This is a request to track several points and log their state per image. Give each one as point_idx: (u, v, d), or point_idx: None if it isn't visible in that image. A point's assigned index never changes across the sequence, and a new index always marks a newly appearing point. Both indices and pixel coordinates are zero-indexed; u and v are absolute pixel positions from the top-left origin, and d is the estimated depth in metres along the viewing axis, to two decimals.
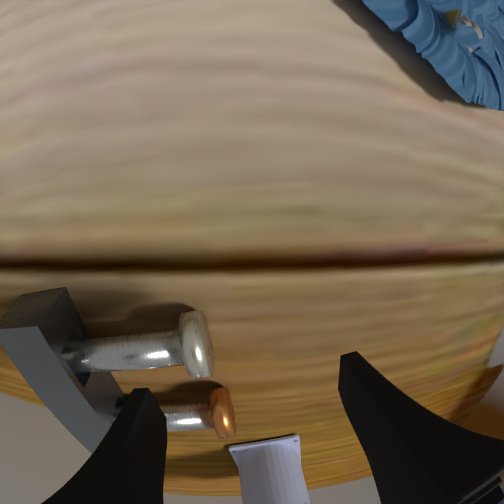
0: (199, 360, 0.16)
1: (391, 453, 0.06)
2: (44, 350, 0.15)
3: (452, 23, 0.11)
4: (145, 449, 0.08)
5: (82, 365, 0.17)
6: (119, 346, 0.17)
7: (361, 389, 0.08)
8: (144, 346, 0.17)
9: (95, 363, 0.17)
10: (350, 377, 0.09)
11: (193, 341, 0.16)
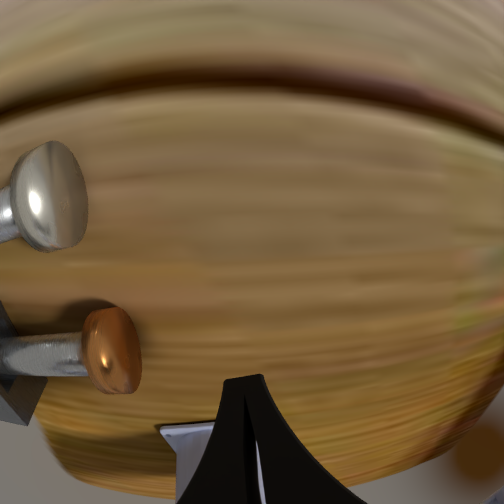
0: (27, 193, 0.08)
1: None
2: None
3: None
4: (250, 442, 0.08)
5: None
6: None
7: None
8: None
9: None
10: (246, 401, 0.09)
11: (27, 163, 0.08)
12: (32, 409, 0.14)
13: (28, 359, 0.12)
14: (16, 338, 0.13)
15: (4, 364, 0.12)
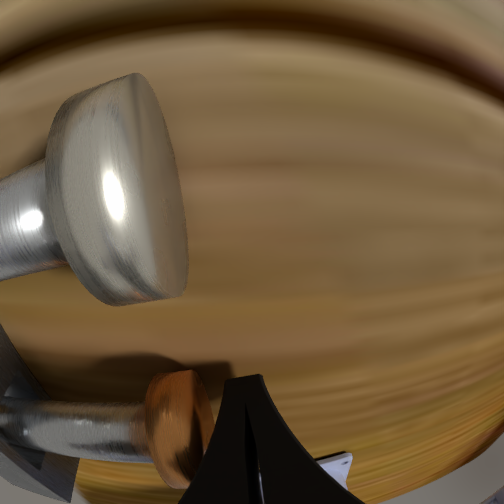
0: (103, 174, 0.03)
1: None
2: None
3: None
4: (251, 441, 0.08)
5: None
6: None
7: (248, 416, 0.08)
8: None
9: None
10: None
11: (97, 104, 0.03)
12: (72, 480, 0.09)
13: (52, 440, 0.07)
14: (28, 405, 0.08)
15: (16, 438, 0.07)
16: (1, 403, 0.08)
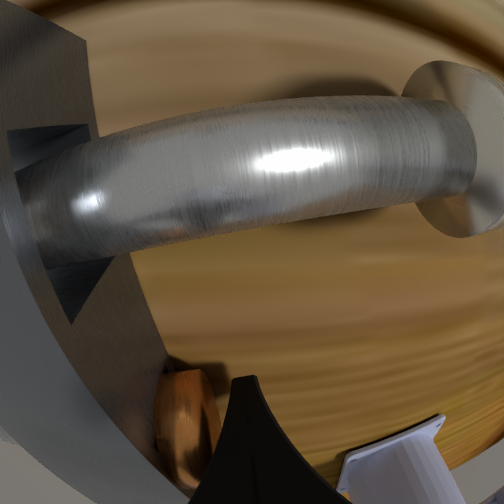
0: None
1: None
2: None
3: None
4: None
5: (77, 206, 0.04)
6: (261, 107, 0.05)
7: None
8: (359, 103, 0.05)
9: (141, 181, 0.04)
10: None
11: (502, 89, 0.04)
12: None
13: None
14: None
15: None
16: None
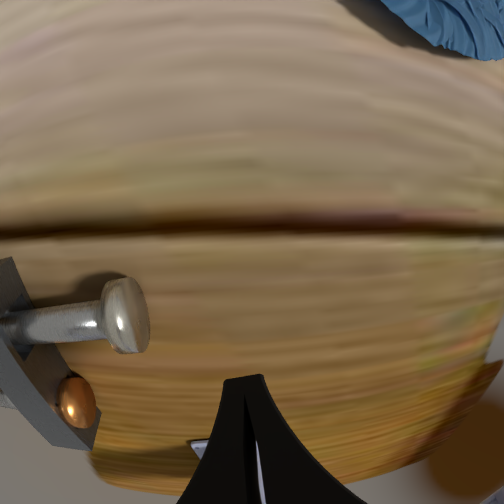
0: (119, 330, 0.14)
1: None
2: None
3: None
4: (250, 442, 0.08)
5: (20, 335, 0.14)
6: (51, 315, 0.15)
7: None
8: (72, 314, 0.15)
9: (30, 333, 0.14)
10: (246, 401, 0.09)
11: (113, 307, 0.14)
12: (93, 437, 0.20)
13: None
14: None
15: (12, 404, 0.17)
16: None
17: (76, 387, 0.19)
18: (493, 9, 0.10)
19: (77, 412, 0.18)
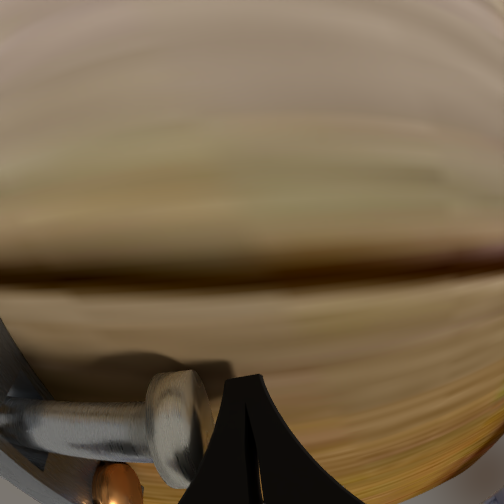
0: (190, 475, 0.07)
1: None
2: None
3: None
4: (251, 441, 0.08)
5: (11, 438, 0.07)
6: (54, 423, 0.08)
7: (248, 416, 0.08)
8: (90, 431, 0.08)
9: (26, 441, 0.07)
10: None
11: (175, 444, 0.07)
12: None
13: None
14: None
15: None
16: None
17: (117, 479, 0.12)
18: None
19: None
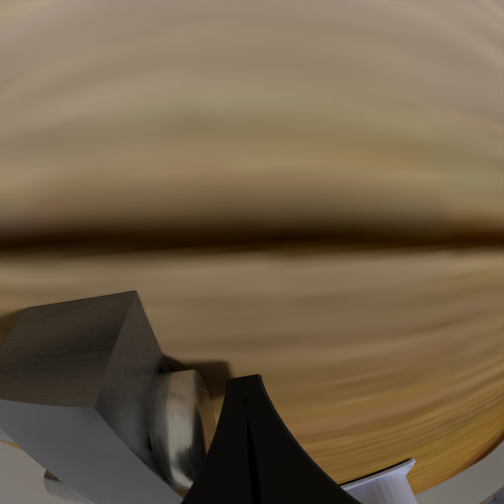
0: (192, 475, 0.07)
1: None
2: (109, 451, 0.05)
3: None
4: (253, 441, 0.08)
5: None
6: None
7: None
8: None
9: None
10: None
11: (177, 444, 0.07)
12: None
13: None
14: None
15: None
16: None
17: None
18: None
19: None
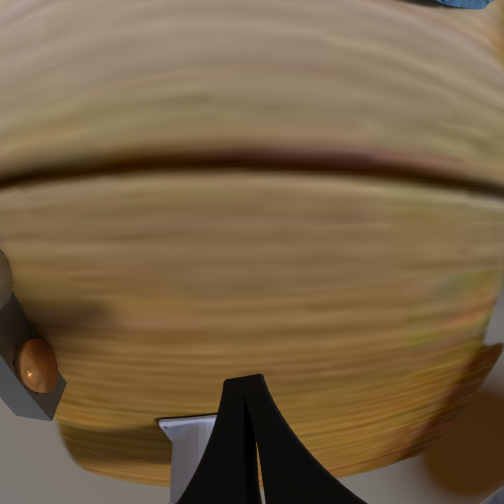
0: None
1: None
2: None
3: None
4: (249, 442, 0.08)
5: None
6: None
7: None
8: None
9: None
10: (246, 401, 0.09)
11: None
12: (55, 407, 0.18)
13: None
14: None
15: None
16: None
17: (36, 348, 0.17)
18: None
19: (34, 374, 0.16)
